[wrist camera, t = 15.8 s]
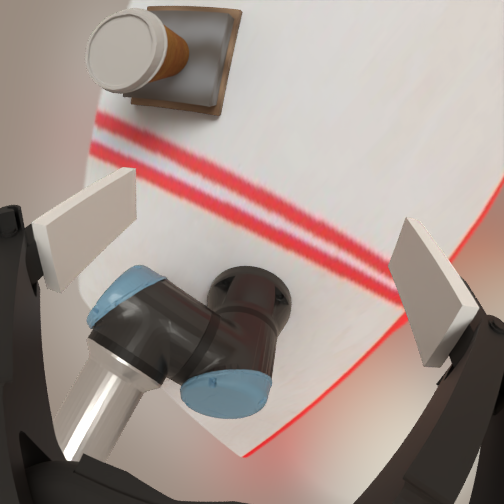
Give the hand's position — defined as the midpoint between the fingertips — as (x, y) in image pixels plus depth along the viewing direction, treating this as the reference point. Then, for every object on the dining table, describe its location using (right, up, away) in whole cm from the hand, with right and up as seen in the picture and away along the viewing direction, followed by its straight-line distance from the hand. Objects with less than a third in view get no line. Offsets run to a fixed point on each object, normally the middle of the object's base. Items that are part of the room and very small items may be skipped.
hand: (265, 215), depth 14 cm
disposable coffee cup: (-12, +24, +19) cm, 33 cm away
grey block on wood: (-10, +26, +23) cm, 37 cm away
